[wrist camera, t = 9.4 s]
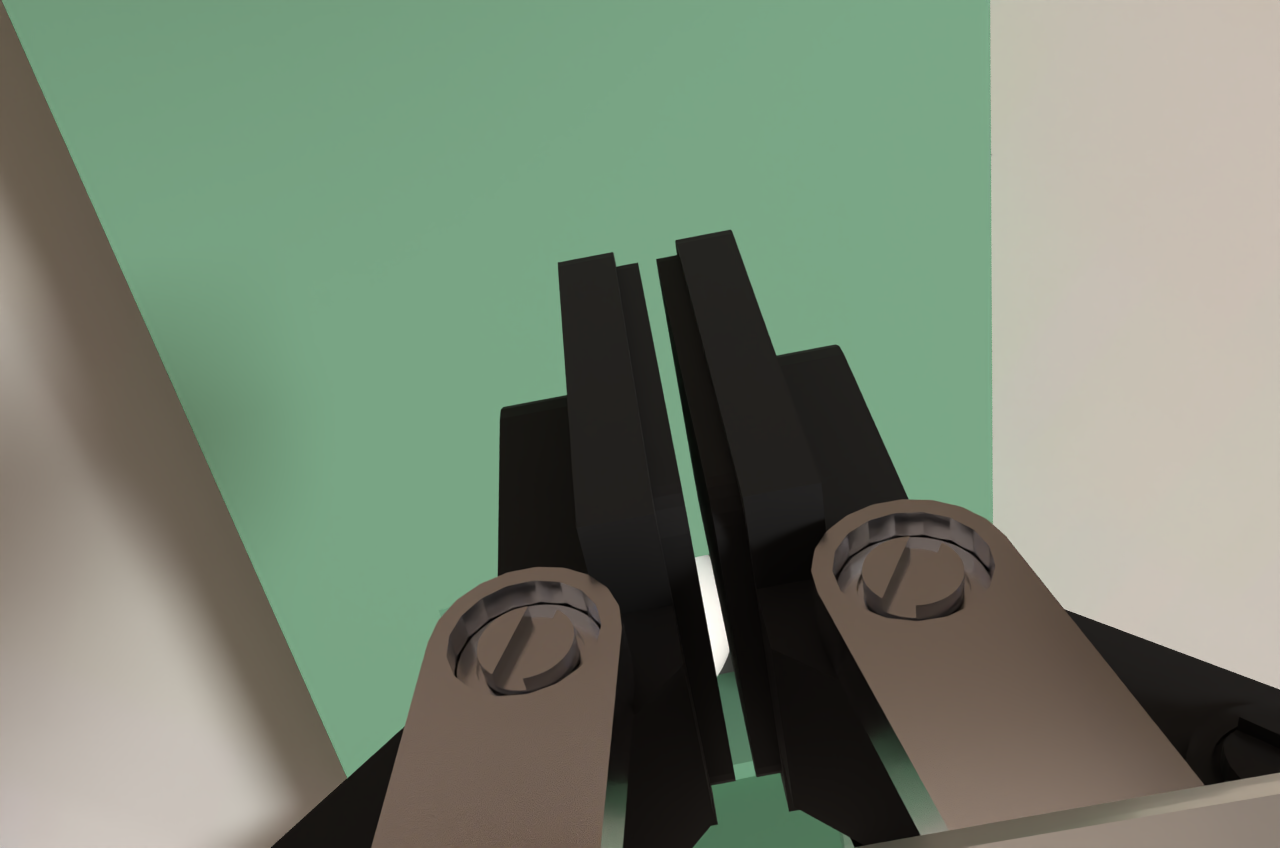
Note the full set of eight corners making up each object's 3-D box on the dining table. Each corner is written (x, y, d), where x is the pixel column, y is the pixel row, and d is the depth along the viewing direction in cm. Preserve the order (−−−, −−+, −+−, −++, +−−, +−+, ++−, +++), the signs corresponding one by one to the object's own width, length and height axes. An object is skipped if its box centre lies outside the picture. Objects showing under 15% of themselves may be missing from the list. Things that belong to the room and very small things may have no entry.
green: (911, -509, 17) (1069, -580, 12) (950, 679, 30) (1035, 857, 25) (-49, -320, 17) (-243, -322, 12) (405, 792, 30) (393, 992, 25)
